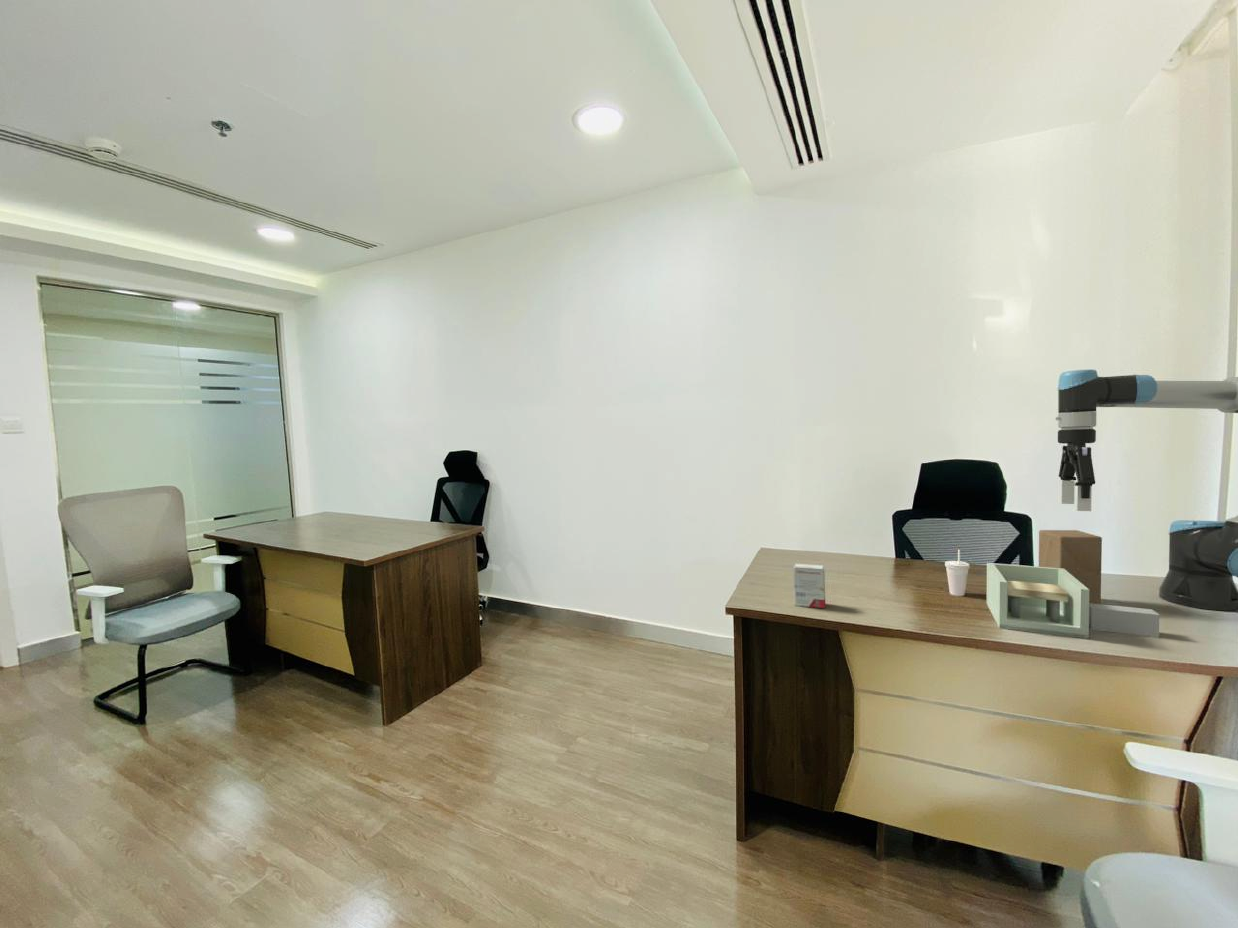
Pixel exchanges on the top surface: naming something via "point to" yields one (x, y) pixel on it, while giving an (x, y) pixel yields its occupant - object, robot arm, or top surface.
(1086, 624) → the light green open box
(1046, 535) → the wooden block
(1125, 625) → the block
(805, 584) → the ink box
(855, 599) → the top surface
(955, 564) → the smoothie
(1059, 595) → the shelf board
